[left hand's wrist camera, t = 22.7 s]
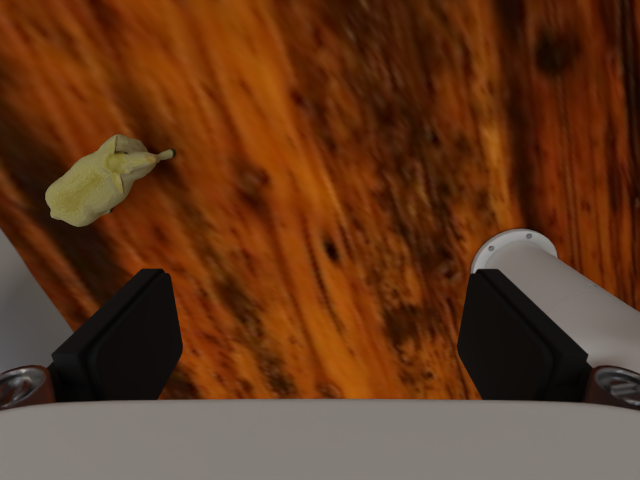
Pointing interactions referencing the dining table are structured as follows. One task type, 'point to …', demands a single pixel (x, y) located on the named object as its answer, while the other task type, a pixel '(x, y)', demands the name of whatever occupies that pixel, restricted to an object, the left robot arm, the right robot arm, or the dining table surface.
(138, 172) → the toy
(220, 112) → the dining table surface
